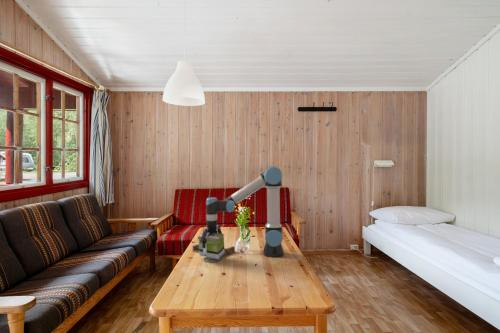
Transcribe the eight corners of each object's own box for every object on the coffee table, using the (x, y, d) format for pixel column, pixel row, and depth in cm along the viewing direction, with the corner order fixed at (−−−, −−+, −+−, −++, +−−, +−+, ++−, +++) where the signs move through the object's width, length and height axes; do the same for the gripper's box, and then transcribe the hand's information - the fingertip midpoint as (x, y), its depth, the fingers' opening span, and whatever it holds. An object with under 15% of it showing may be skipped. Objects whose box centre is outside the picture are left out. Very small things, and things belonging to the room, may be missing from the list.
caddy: (209, 245, 252) (209, 241, 252) (234, 251, 235) (234, 246, 235) (192, 251, 238) (192, 245, 238) (217, 257, 221) (217, 252, 221)
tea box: (199, 256, 216) (197, 236, 213) (206, 250, 225) (205, 230, 222) (218, 259, 210) (217, 239, 208) (225, 252, 220) (223, 233, 217)
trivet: (212, 255, 226) (212, 254, 226) (224, 259, 218) (224, 257, 218) (200, 260, 216) (200, 259, 216) (212, 263, 209) (212, 262, 209)
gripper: (220, 216, 229) (220, 245, 229) (194, 222, 209) (194, 253, 210) (227, 217, 224) (228, 247, 224) (202, 223, 205) (202, 255, 205)
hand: (212, 250), depth 217 cm, fingers open, 13 cm apart
